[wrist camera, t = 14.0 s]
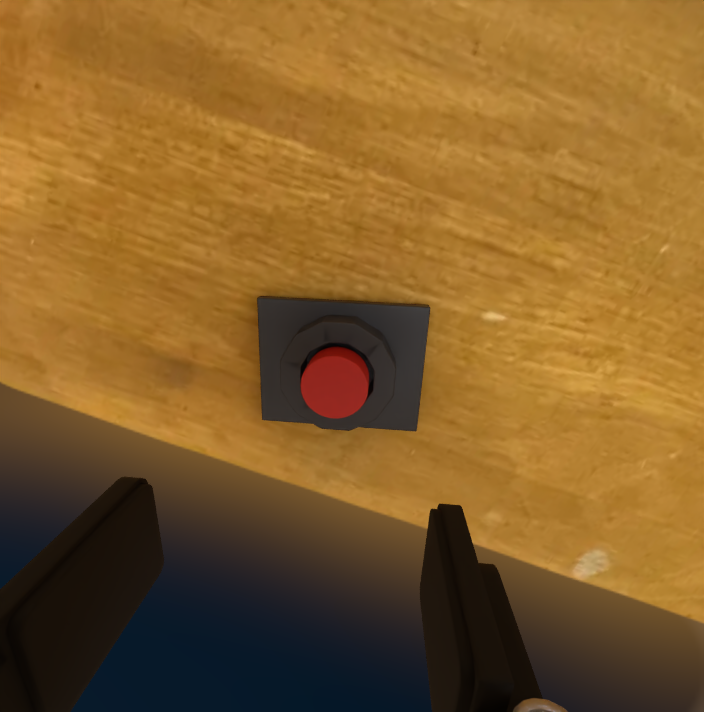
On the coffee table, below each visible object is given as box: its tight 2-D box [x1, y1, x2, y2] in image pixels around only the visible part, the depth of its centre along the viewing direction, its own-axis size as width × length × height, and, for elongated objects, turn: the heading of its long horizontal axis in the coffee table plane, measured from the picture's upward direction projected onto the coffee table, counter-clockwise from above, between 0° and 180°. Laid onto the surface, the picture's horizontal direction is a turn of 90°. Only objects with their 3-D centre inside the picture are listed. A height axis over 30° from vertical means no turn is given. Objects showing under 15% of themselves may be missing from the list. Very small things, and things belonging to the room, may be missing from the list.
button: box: [300, 347, 369, 418], centre depth 20 cm, size 4×4×2 cm
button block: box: [257, 296, 430, 431], centre depth 22 cm, size 10×8×2 cm
